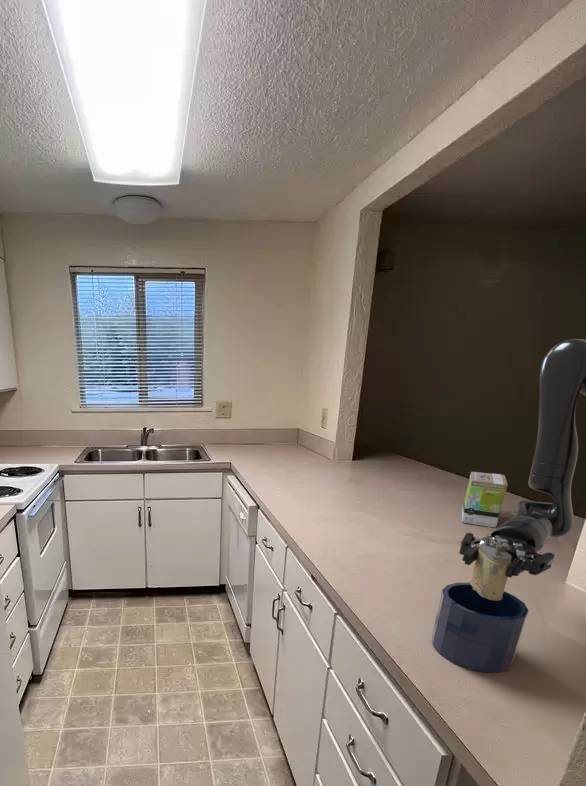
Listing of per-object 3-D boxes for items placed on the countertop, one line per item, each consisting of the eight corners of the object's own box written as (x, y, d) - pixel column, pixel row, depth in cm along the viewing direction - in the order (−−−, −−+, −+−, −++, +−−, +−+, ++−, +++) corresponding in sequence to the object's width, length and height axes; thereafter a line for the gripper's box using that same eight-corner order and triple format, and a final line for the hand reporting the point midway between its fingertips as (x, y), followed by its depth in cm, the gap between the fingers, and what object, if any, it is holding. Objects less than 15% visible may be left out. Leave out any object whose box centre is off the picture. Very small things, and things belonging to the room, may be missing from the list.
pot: (463, 625, 90) (474, 577, 86) (528, 662, 78) (545, 609, 75) (416, 639, 85) (426, 590, 82) (478, 680, 74) (494, 626, 70)
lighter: (505, 602, 74) (520, 549, 71) (481, 600, 75) (495, 547, 71) (486, 582, 81) (499, 532, 77) (464, 580, 81) (476, 531, 78)
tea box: (497, 528, 139) (508, 484, 134) (460, 523, 144) (470, 480, 139) (495, 514, 151) (505, 473, 146) (461, 510, 156) (470, 470, 151)
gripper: (480, 511, 88) (446, 533, 78) (571, 531, 77) (546, 559, 67) (472, 545, 90) (438, 570, 80) (559, 568, 80) (533, 601, 70)
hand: (488, 565), depth 74 cm, fingers closed on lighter, 5 cm apart
